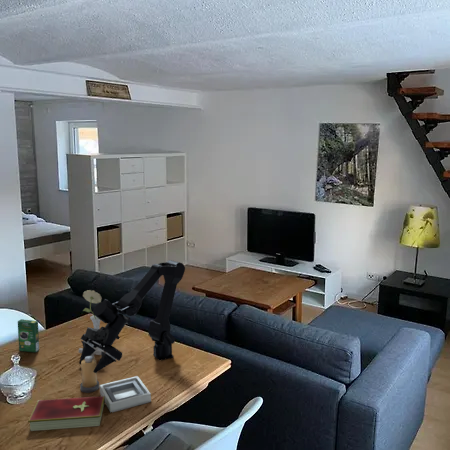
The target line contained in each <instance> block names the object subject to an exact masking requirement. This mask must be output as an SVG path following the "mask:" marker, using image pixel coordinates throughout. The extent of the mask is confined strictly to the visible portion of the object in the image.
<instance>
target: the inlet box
mask: <svg viewBox="0 0 450 450" xmlns="http://www.w3.org/2000/svg"><path fill="white" fill-rule="evenodd" d="M99 394H100V396H105V406H106V408H107V409H108V410H109V412H110V413H111V412H112V413H115V412H119V411H122V410H127V409H130V408H134V407H137V406H140V405H141V406H142V405H144V404H149V403H151V402H152V396H151V395H152V393H151V392H150V391H149V389H148V388H147V386H146V385H145V384H144V382H143V381H142V380H141V378H140V377H139V376H138V375H135V376H132V377H128V378H124V379H119V380H114V381H111V382H107V383H103V384H99Z"/></svg>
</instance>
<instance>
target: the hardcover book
mask: <svg viewBox="0 0 450 450" xmlns="http://www.w3.org/2000/svg"><path fill="white" fill-rule="evenodd" d="M105 406H106V403H105V396H101V395H99V396H86V397H70V398H68V397H67V398H56V399H54V398H53V399H42V400H41V399H40V400H39V399H38V400H37V401H36V403H35V405H34V408H33V409H32V411H31V414H30V416H29V418H28V421H27V423H29V428H30V429H29V430H30V432H33V431H34V432H35V431H46V430H47V431H48V430H49V431H50V430H61V429H62V430H63V429H64V430H65V429H75V428H87V427H88V428H89V427H99V426H101V425H100V424H101V421H102V416H103V411H104V407H105Z"/></svg>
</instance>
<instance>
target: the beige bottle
mask: <svg viewBox="0 0 450 450" xmlns="http://www.w3.org/2000/svg"><path fill="white" fill-rule="evenodd" d="M96 365H97V359H96V358H94V359H93V358H92V356H86V357H85V359H84V360H82V362H81V364H80V366H81V383H80V384H79V386H80V391H81V392H82V393H85V394H86V393H87V394H88V393H89V394H90V393H93V392H96V391H98V390H100V382H99V380H98V376H97V374H98V372H97V373H94V372H93V371H94V369H95V367H96Z"/></svg>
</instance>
